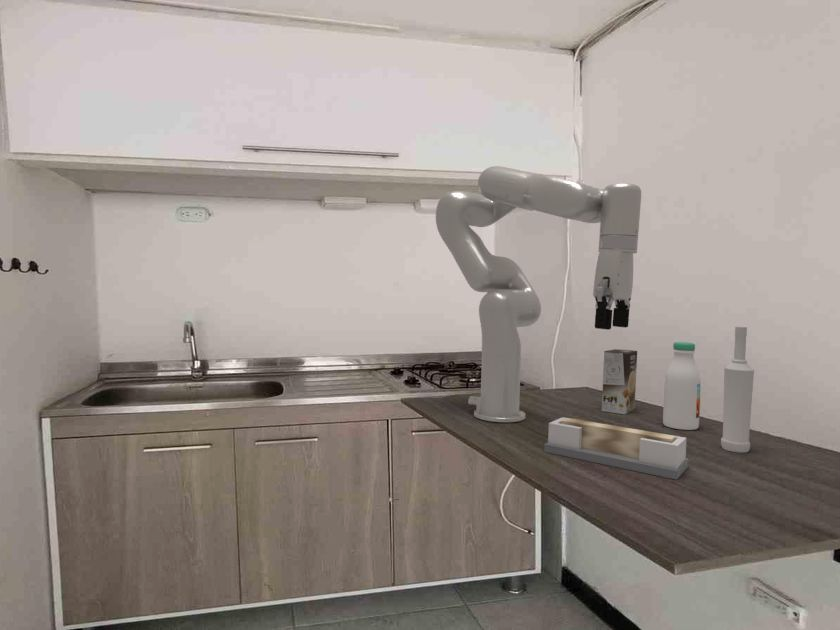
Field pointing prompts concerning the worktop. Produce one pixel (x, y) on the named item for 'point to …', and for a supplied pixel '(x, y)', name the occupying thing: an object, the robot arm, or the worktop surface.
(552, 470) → the worktop surface
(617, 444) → the slat
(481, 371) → the robot arm
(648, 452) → the grey holder stand
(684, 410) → the milk bottle
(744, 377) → the bottle
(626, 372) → the coffee box
